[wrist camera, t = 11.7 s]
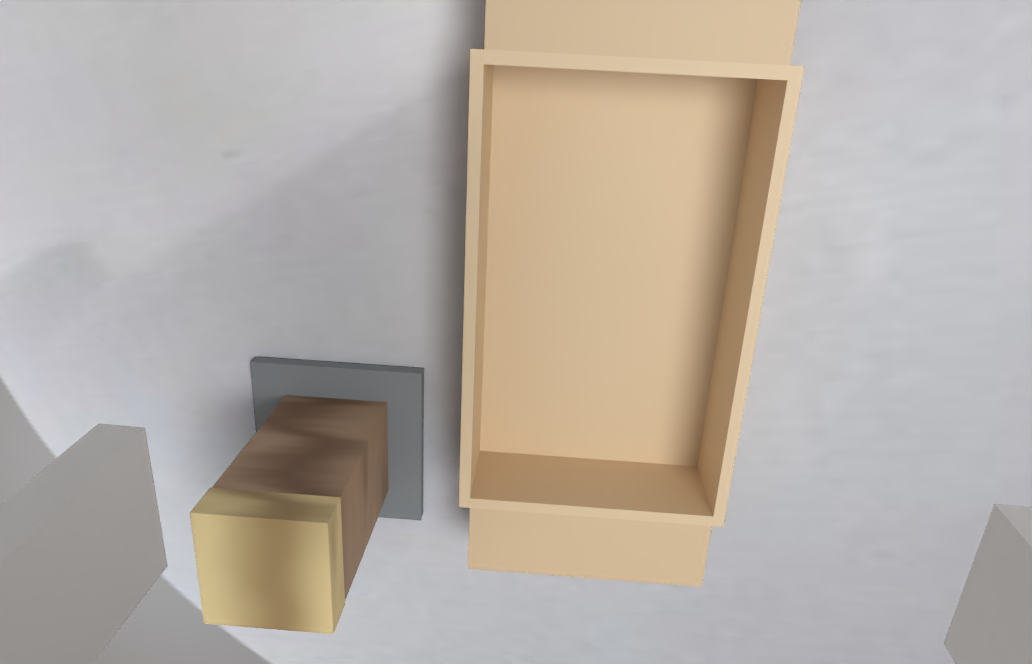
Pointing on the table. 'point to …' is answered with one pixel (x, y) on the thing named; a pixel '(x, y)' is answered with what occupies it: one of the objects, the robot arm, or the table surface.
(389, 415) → the panel
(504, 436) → the carton
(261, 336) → the table surface
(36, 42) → the table surface
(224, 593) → the block
